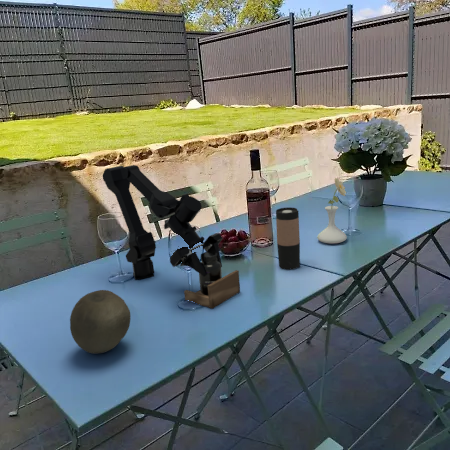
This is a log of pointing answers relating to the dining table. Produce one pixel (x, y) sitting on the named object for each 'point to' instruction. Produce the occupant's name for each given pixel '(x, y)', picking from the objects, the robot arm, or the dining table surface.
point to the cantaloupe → (99, 321)
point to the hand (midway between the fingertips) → (213, 271)
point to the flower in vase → (333, 220)
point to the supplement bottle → (209, 271)
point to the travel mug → (288, 238)
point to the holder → (216, 291)
